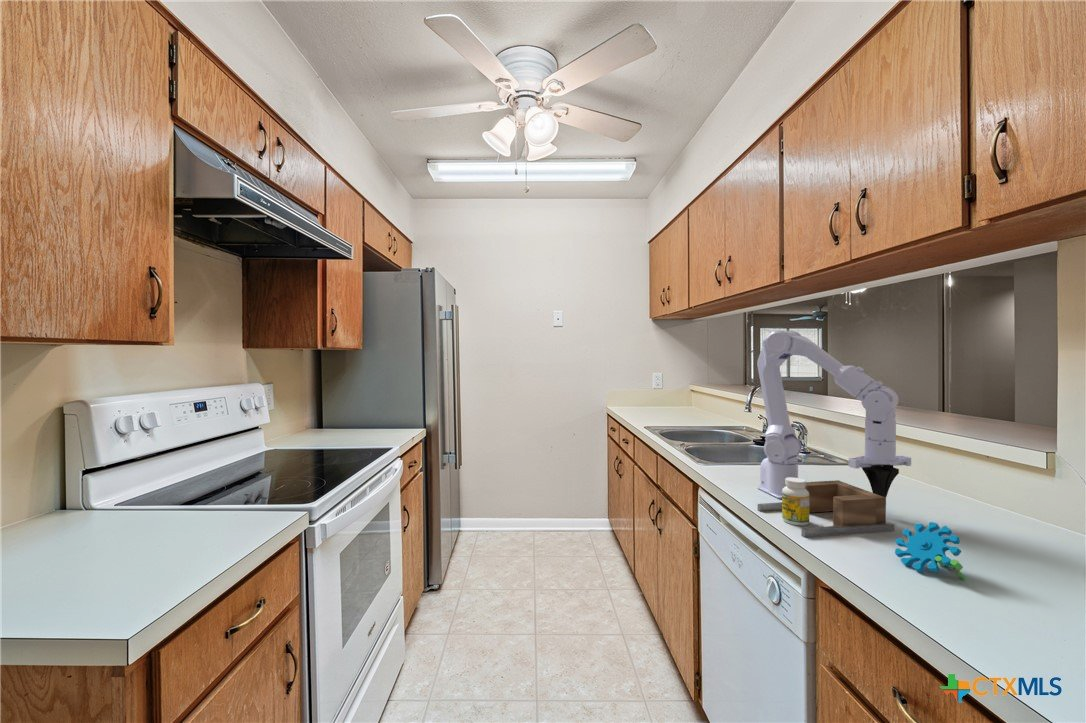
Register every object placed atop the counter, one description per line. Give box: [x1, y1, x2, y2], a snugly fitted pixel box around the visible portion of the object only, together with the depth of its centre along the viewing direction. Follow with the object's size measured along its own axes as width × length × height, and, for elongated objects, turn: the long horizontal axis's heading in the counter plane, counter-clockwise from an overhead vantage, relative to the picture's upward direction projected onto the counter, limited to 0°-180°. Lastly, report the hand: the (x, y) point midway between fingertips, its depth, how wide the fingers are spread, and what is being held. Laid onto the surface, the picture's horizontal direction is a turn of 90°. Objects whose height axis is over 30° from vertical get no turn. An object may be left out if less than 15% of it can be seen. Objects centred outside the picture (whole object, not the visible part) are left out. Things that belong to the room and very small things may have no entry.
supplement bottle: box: [781, 477, 810, 527], centre depth 100 cm, size 5×5×10 cm
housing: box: [804, 479, 887, 526], centre depth 101 cm, size 13×10×6 cm
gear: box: [894, 521, 967, 581], centre depth 78 cm, size 11×6×10 cm
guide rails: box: [757, 501, 895, 538], centre depth 101 cm, size 16×21×2 cm
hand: (879, 497), depth 103 cm, fingers closed
